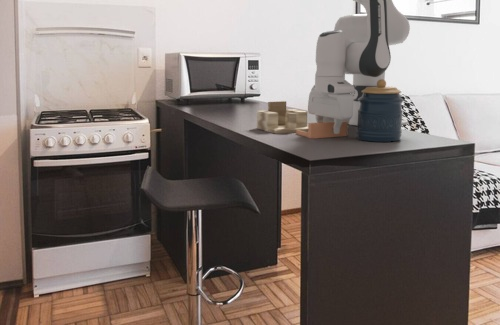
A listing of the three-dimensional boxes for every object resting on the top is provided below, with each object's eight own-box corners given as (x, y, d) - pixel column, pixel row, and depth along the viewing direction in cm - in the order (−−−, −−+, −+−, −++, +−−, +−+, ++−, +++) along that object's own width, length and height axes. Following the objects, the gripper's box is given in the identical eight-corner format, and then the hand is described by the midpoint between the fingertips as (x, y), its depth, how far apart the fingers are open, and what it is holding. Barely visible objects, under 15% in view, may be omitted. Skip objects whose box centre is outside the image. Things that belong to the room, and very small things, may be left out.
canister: (355, 135, 154) (357, 78, 150) (398, 136, 151) (401, 78, 148) (357, 142, 141) (360, 80, 137) (404, 143, 139) (408, 80, 135)
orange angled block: (294, 133, 156) (295, 119, 155) (329, 131, 161) (330, 118, 160) (310, 138, 147) (311, 123, 146) (347, 135, 152) (347, 121, 151)
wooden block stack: (257, 128, 169) (257, 102, 167) (294, 126, 175) (294, 100, 173) (274, 133, 156) (275, 105, 155) (314, 131, 162) (315, 104, 160)
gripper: (303, 84, 155) (302, 127, 158) (339, 87, 137) (337, 136, 140) (320, 84, 158) (319, 126, 161) (358, 87, 139) (356, 135, 142)
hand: (328, 131), depth 150 cm, fingers open, 7 cm apart
